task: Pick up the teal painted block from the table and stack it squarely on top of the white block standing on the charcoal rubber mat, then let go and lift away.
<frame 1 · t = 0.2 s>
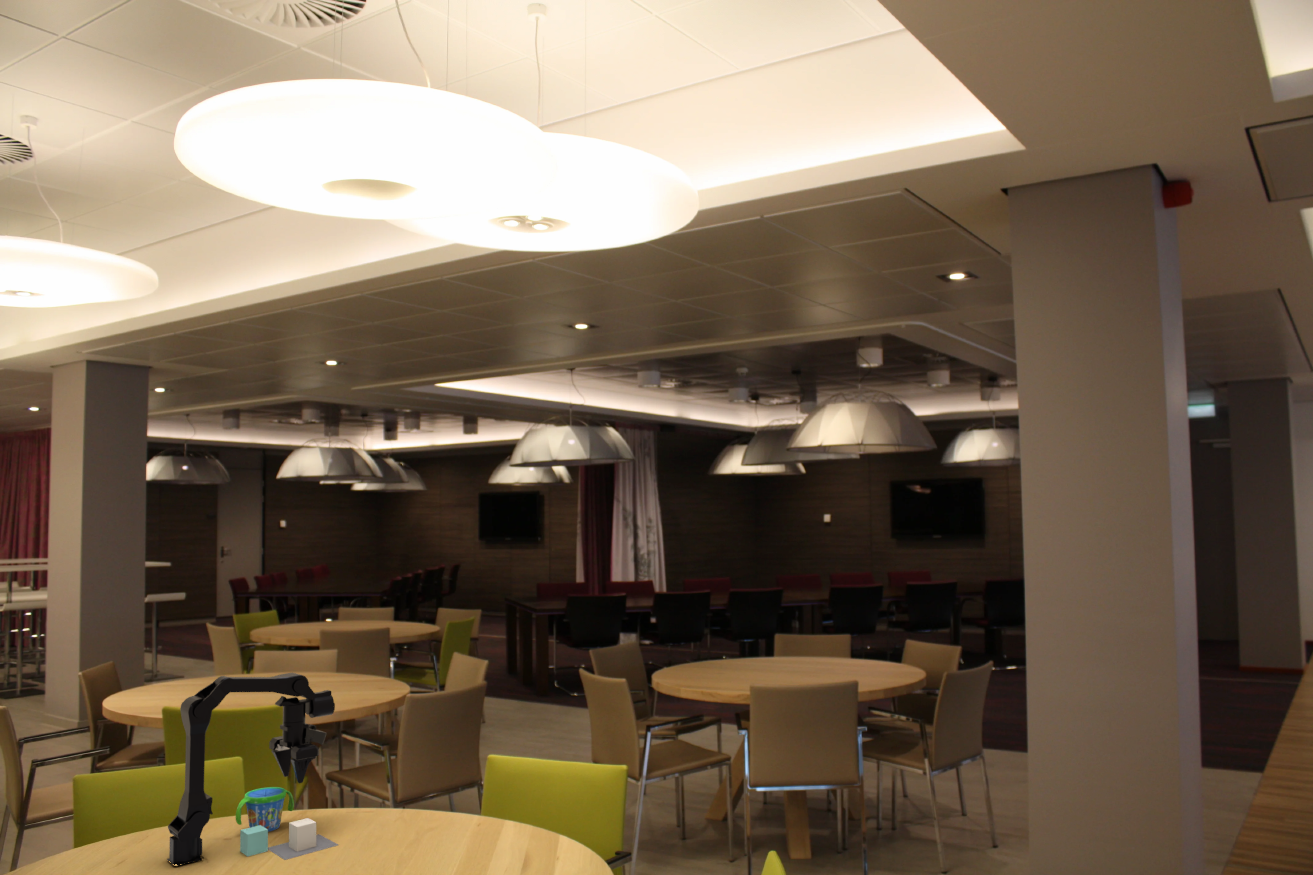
hand: (293, 779, 254), 14 cm above the table, tool pointing down, fingers open, 9 cm apart
teal block: (253, 853, 239), on the table
snack cup: (265, 830, 256), on the table
white block: (302, 846, 241), point 1 cm above the table, touching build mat
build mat: (302, 848, 241), on the table
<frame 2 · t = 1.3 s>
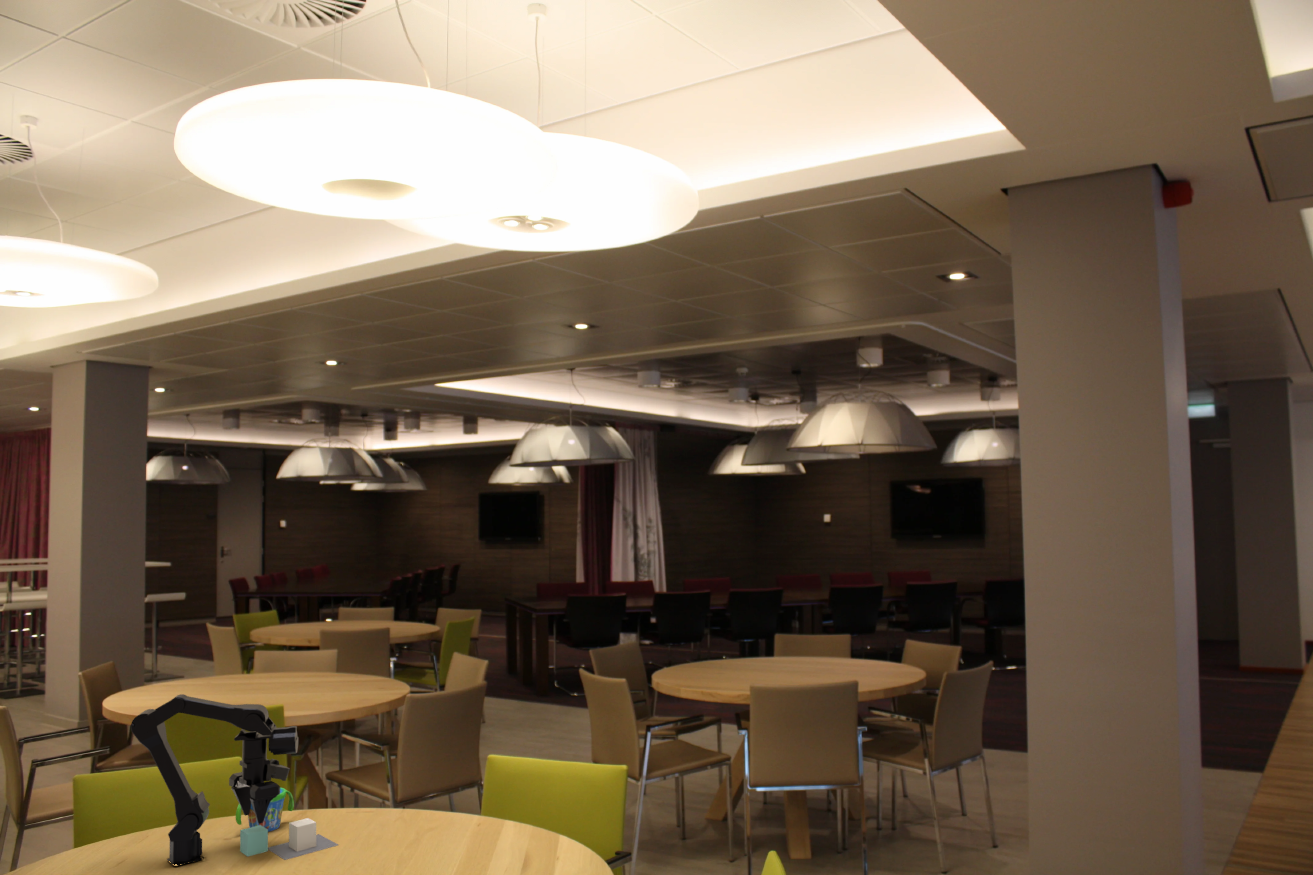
hand: (253, 818, 239), 9 cm above the table, tool pointing down, fingers open, 9 cm apart
nothing on the table moved.
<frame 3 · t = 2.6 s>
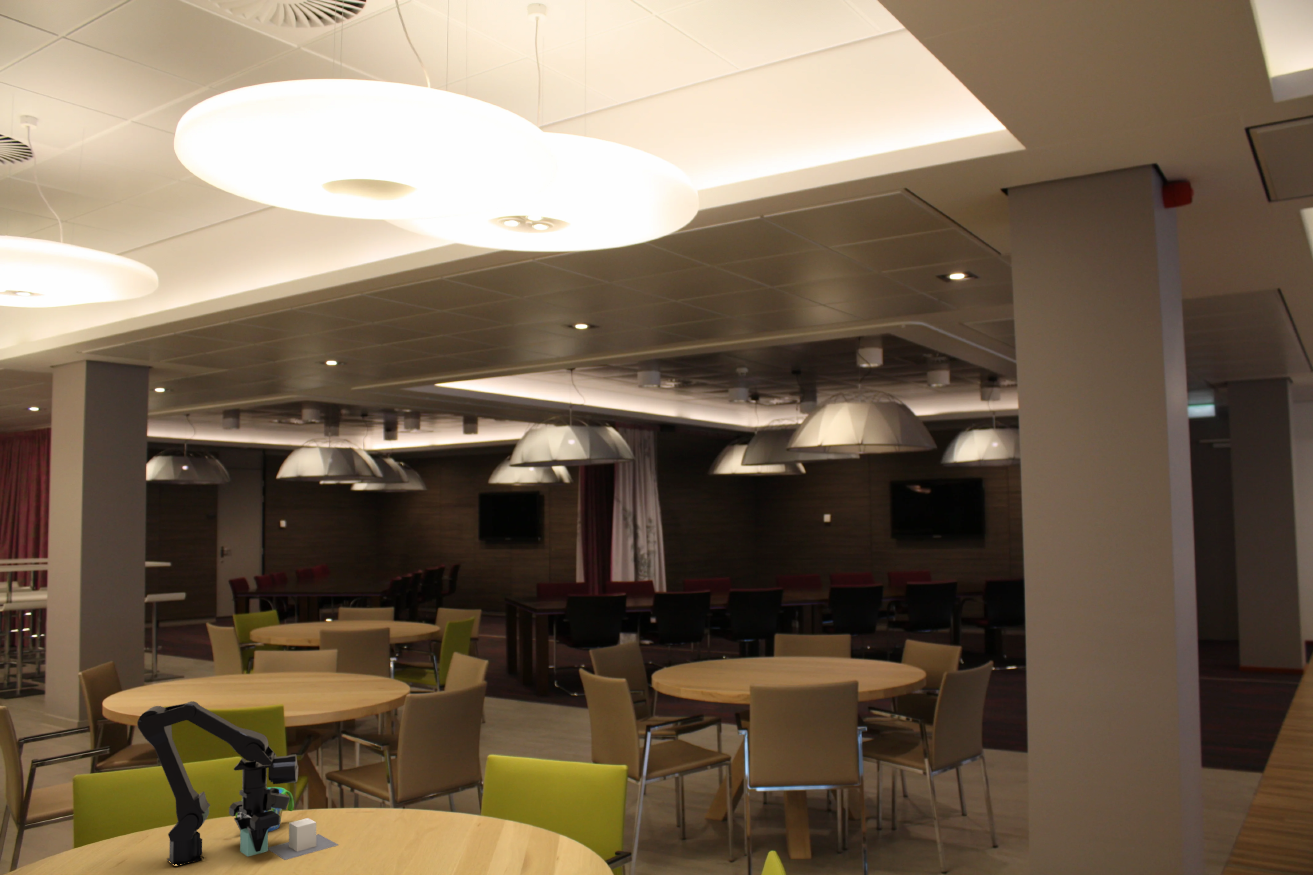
hand: (254, 848, 239), 1 cm above the table, tool pointing down, fingers closed on teal block, 5 cm apart
teal block: (253, 853, 239), on the table, touching gripper
everything else where it was.
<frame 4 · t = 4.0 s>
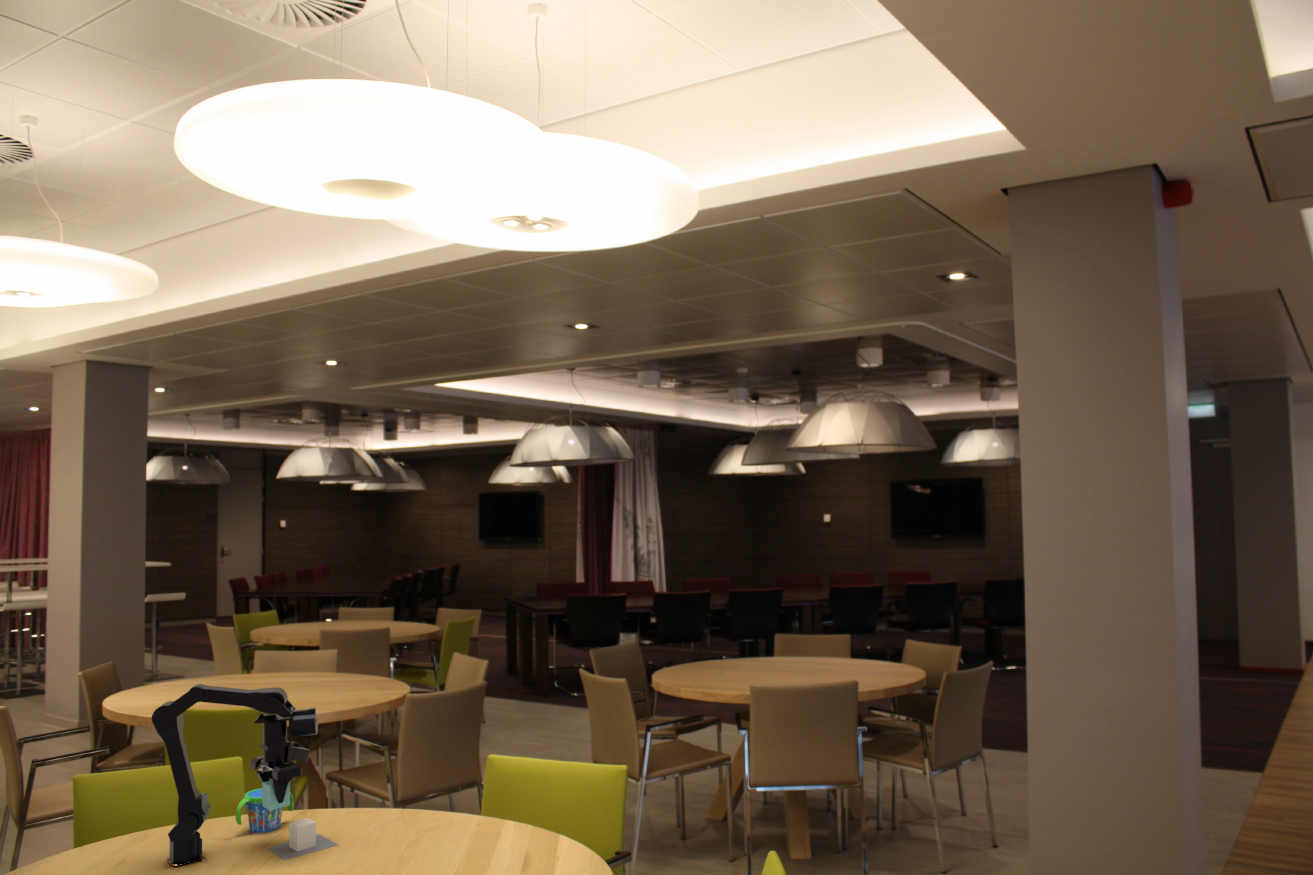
hand: (276, 800, 241), 13 cm above the table, tool pointing down, fingers closed on teal block, 5 cm apart
teal block: (276, 805, 241), point 11 cm above the table, touching gripper
everything else where it was.
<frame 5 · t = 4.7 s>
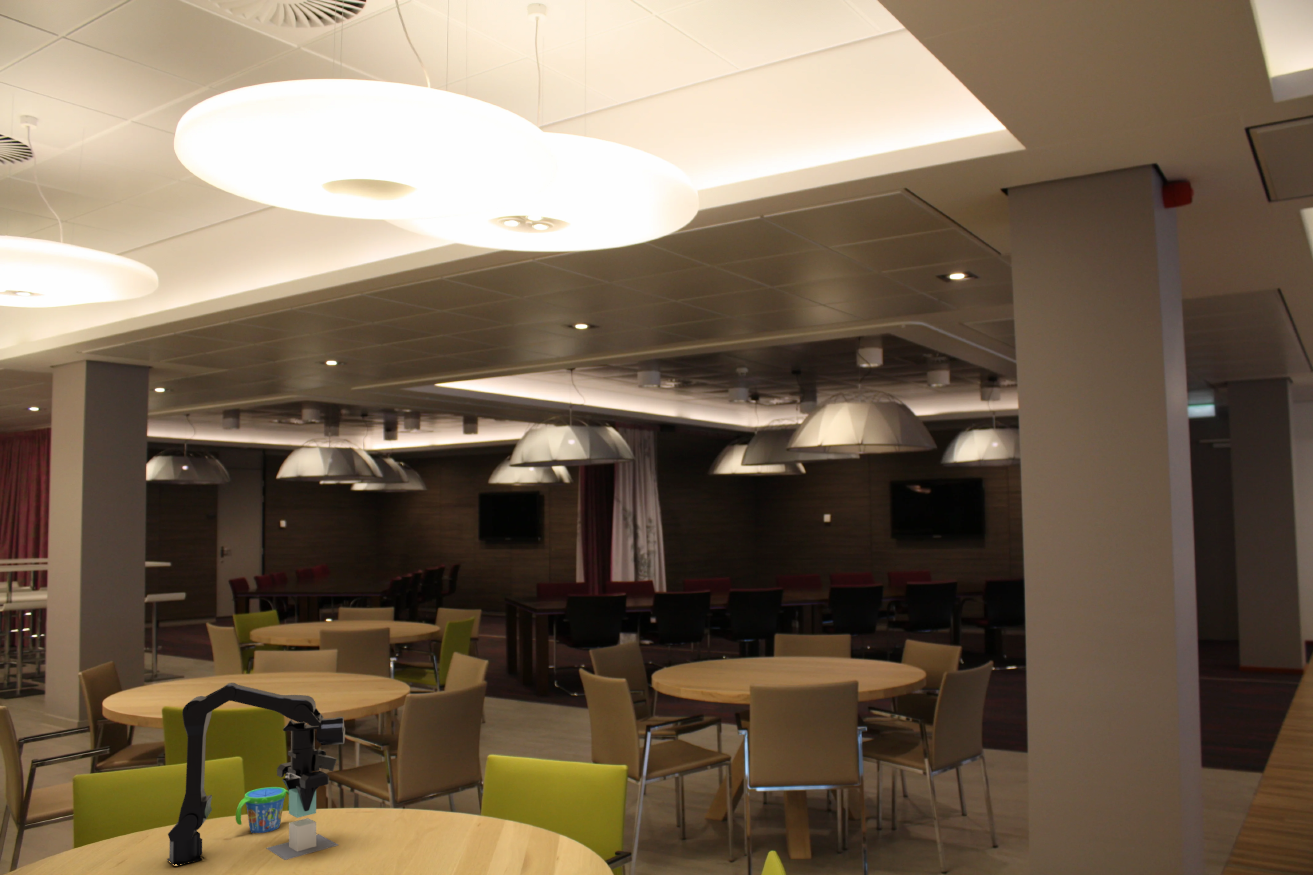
hand: (302, 808, 242), 10 cm above the table, tool pointing down, fingers closed on teal block, 5 cm apart
teal block: (302, 813, 242), point 9 cm above the table, touching gripper
everything else where it was.
when the fingers open (9 cm above the table, at t = 5.3 s): teal block stays where it is, resting on white block.
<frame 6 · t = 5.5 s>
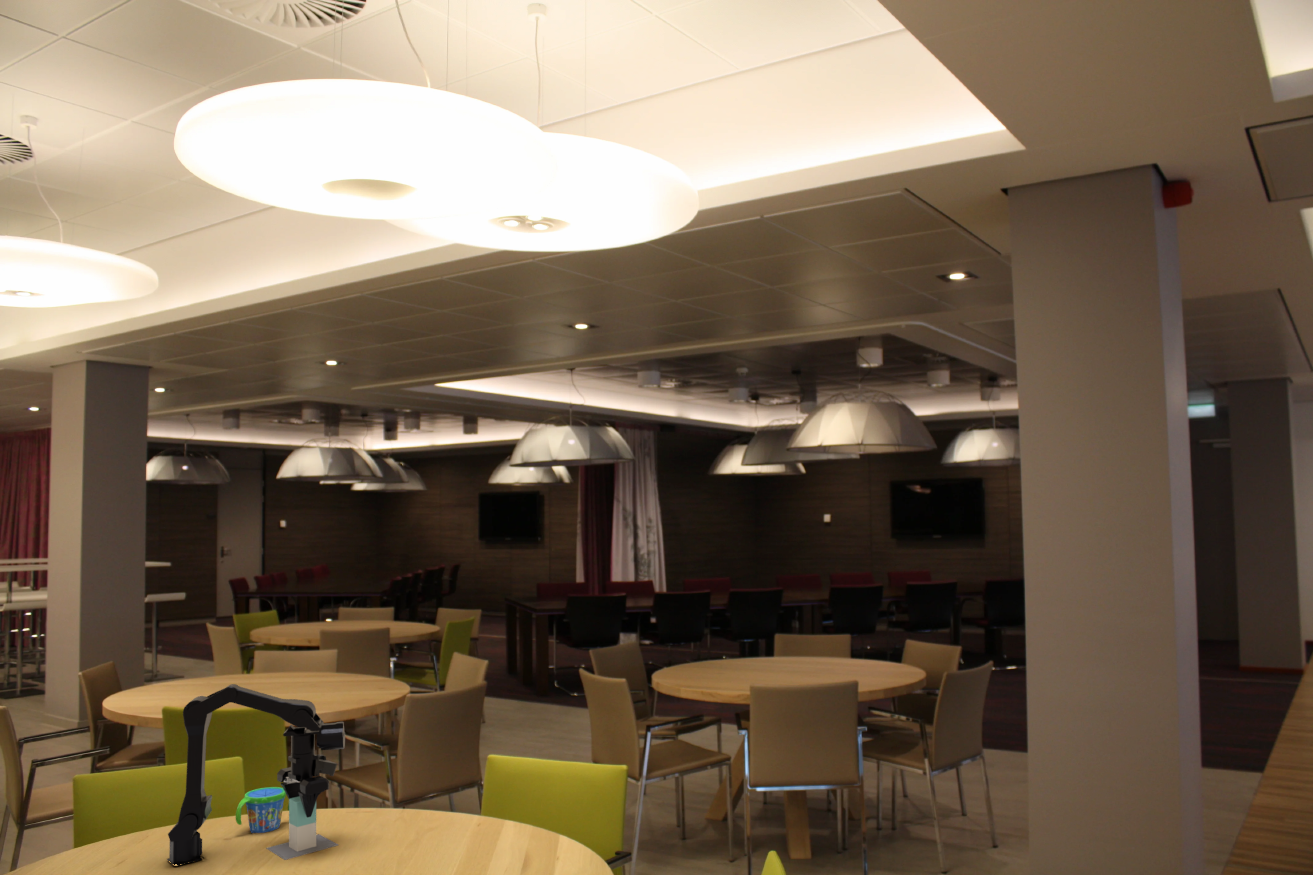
hand: (302, 813, 242), 9 cm above the table, tool pointing down, fingers open, 7 cm apart
teal block: (302, 822, 242), point 7 cm above the table, touching white block
white block: (302, 846, 241), point 1 cm above the table, touching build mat, teal block
everything else where it was.
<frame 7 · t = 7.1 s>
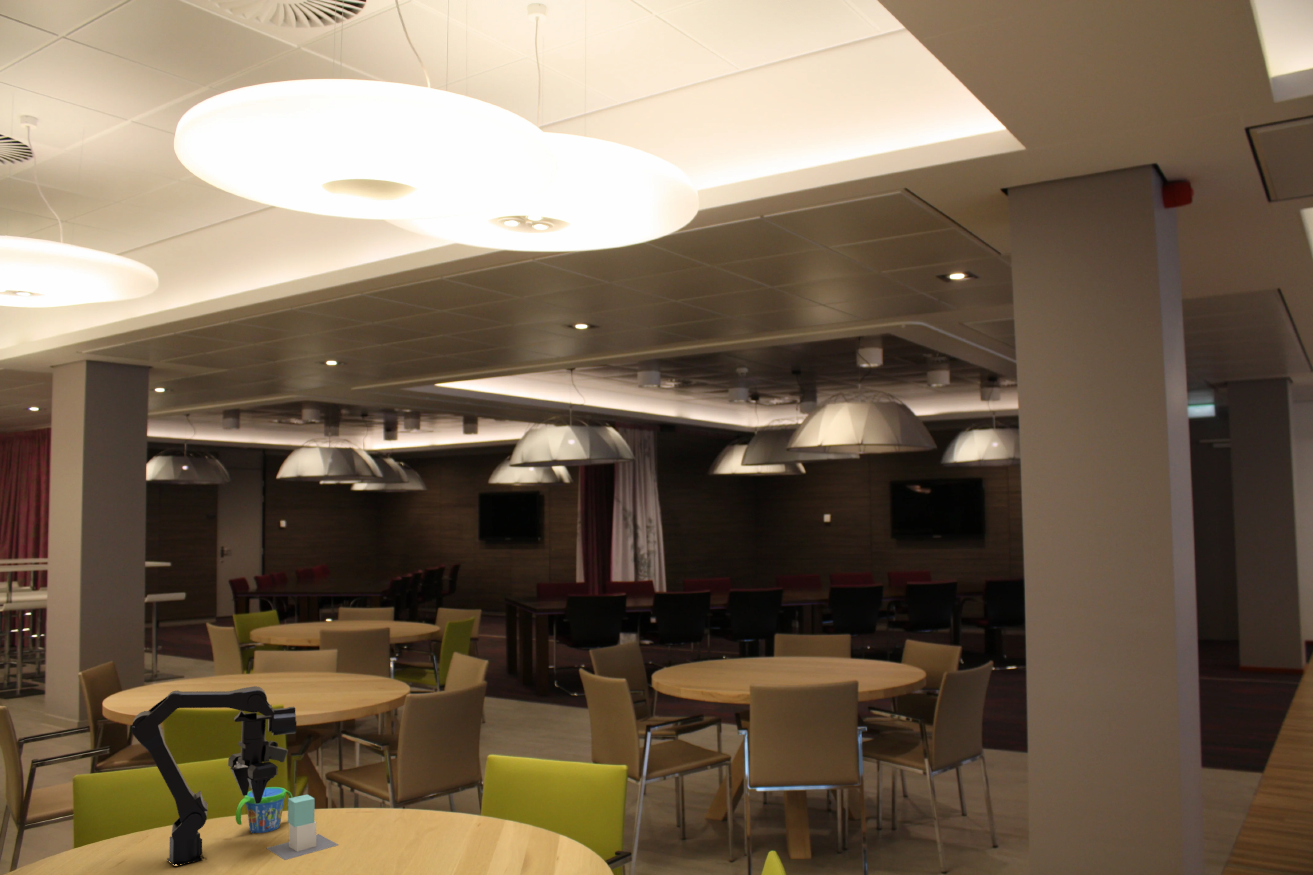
hand: (251, 799, 242), 13 cm above the table, tool pointing down, fingers open, 9 cm apart
nothing on the table moved.
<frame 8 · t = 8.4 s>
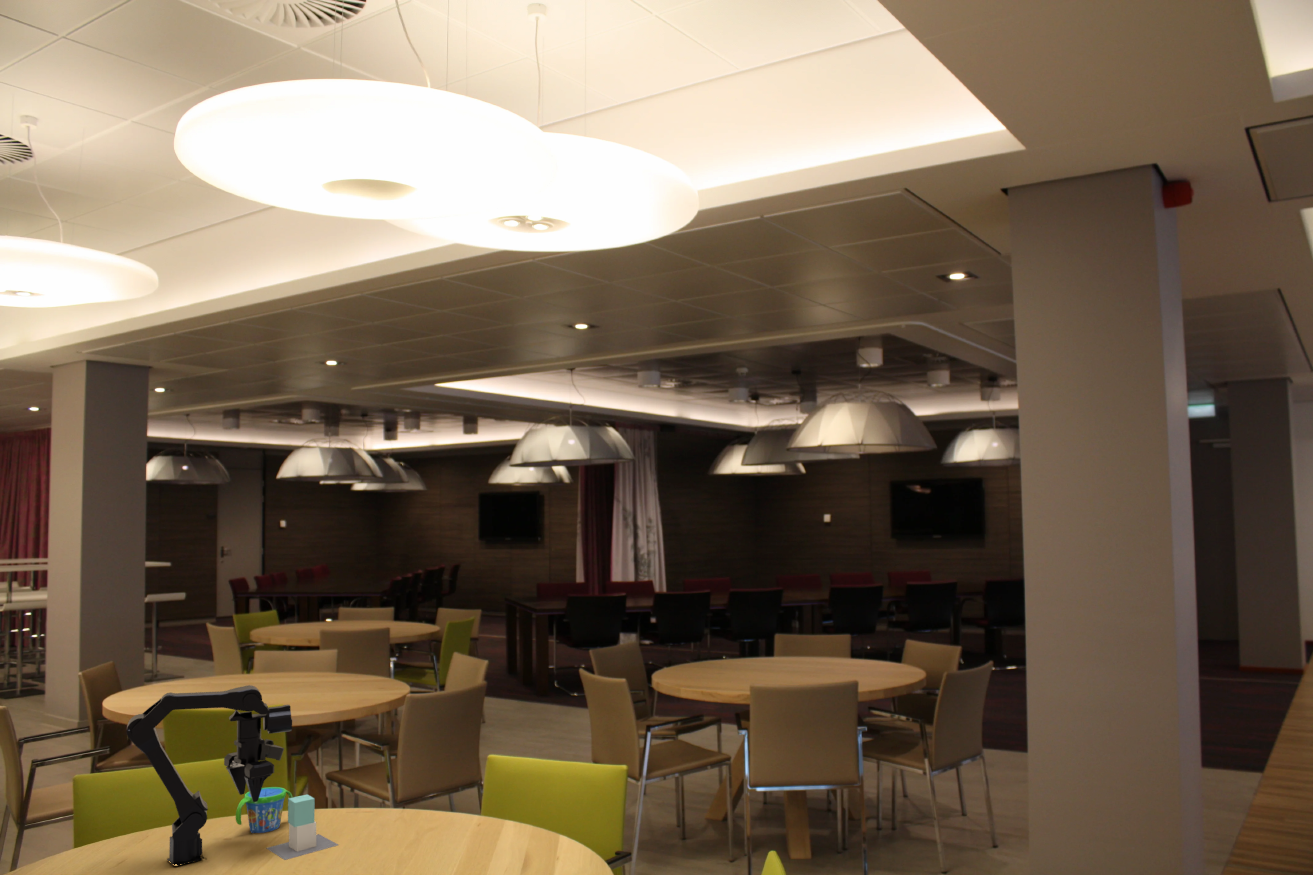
hand: (248, 797, 242), 13 cm above the table, tool pointing down, fingers open, 9 cm apart
nothing on the table moved.
at the end: teal block 0.4 cm off-centre on the white block, point 6.0 cm above the white block's base; teal block tilted 0°; the gripper is holding nothing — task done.
